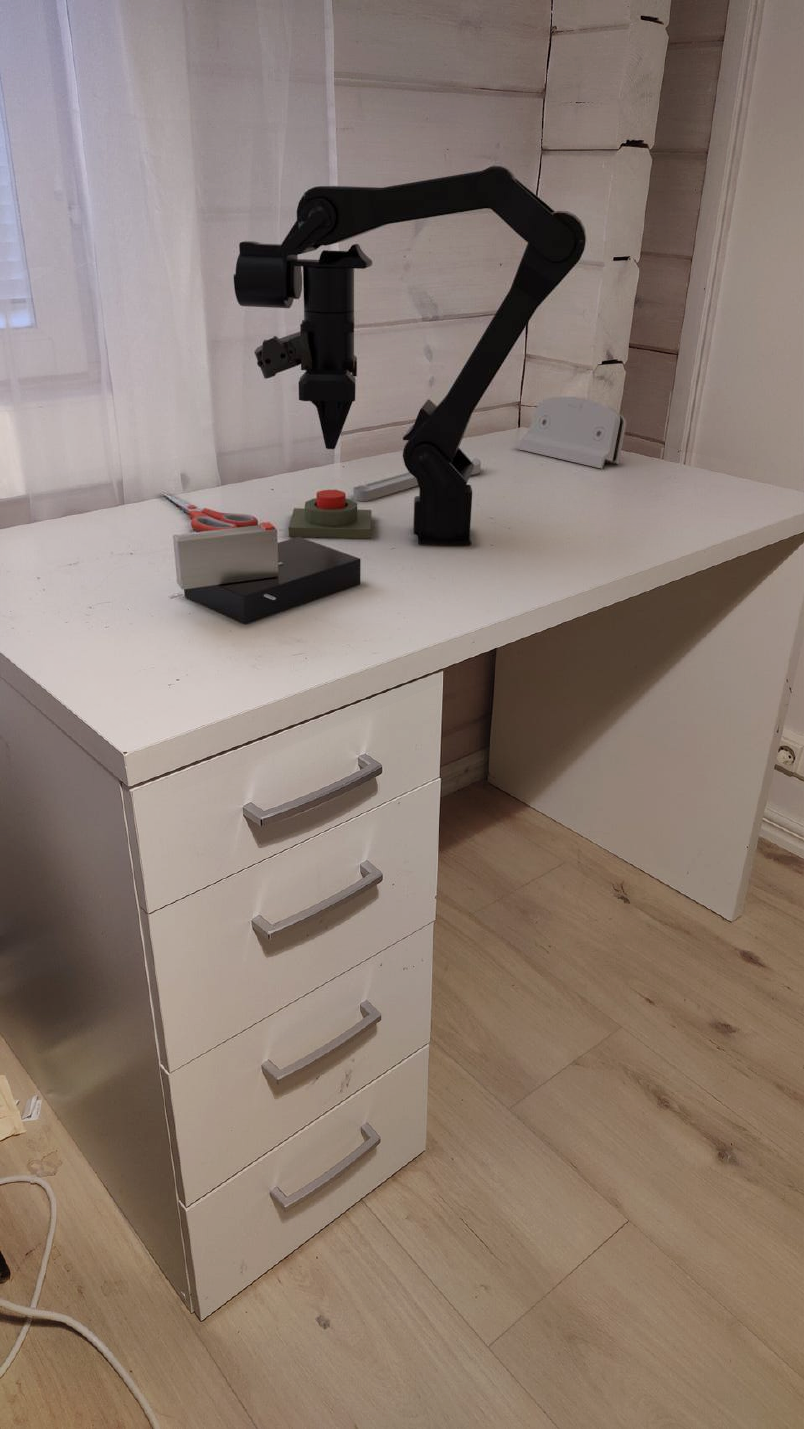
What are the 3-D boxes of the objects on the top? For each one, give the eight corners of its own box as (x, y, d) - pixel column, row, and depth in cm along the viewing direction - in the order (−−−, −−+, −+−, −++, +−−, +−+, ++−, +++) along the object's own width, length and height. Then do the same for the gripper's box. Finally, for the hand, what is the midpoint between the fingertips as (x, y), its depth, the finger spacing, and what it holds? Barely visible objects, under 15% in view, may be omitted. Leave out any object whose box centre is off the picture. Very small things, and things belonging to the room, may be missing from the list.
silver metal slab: (181, 590, 99) (177, 538, 96) (176, 583, 100) (172, 532, 98) (278, 576, 103) (277, 527, 100) (272, 570, 104) (270, 521, 102)
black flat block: (130, 606, 103) (127, 577, 101) (290, 558, 116) (290, 532, 115) (217, 649, 94) (215, 617, 93) (378, 591, 108) (378, 563, 107)
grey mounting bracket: (516, 448, 165) (534, 387, 163) (532, 454, 169) (549, 393, 167) (602, 468, 155) (622, 403, 153) (617, 474, 159) (636, 410, 157)
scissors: (166, 494, 138) (165, 484, 137) (269, 529, 126) (268, 518, 125) (118, 505, 133) (117, 494, 132) (220, 543, 121) (220, 531, 120)
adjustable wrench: (362, 503, 137) (362, 491, 136) (332, 493, 141) (332, 480, 140) (486, 472, 152) (487, 460, 151) (456, 464, 156) (456, 452, 155)
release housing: (371, 518, 131) (371, 496, 129) (370, 538, 124) (370, 514, 122) (294, 517, 130) (293, 494, 129) (288, 536, 123) (288, 513, 122)
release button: (346, 503, 127) (346, 489, 126) (345, 512, 124) (345, 498, 123) (317, 502, 127) (317, 489, 126) (315, 511, 124) (315, 497, 123)
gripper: (265, 299, 122) (270, 430, 130) (249, 319, 106) (255, 467, 113) (357, 301, 123) (356, 431, 130) (355, 321, 106) (355, 469, 114)
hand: (330, 448), depth 122 cm, fingers closed
